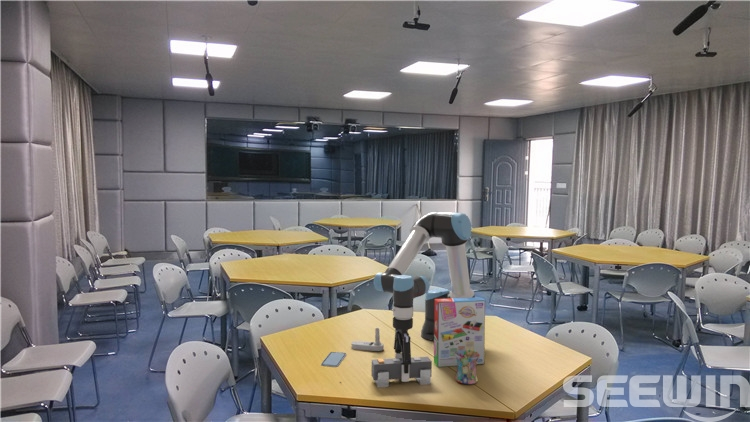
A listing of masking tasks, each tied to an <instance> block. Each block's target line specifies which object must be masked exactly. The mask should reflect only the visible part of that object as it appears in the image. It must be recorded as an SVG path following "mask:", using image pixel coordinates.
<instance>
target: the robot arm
mask: <svg viewBox="0 0 750 422" xmlns="http://www.w3.org/2000/svg"><path fill="white" fill-rule="evenodd" d="M472 230H473V228H472V222H471V219H470V217H469V216H468V215H467V214H466V213H462V212H461V213H460V212H455V211H454V212H451V211H450V212H448V211H447V212H444V211H443V212H442V211H431V212H429V213H426V214H424V215H423V216H421V217H420V218H418V219H417V220H416V221H415V222H414V223H413V224H412V226H411V228H410V229H409V235H408V236H407V238H406V240H405V241H404V242H403V244H402V246H401V247H400V249H399V250H398V251H397V253H396V254H395V256H394V258H393V259H392V260H391V262H390V264H389V265H388V267H387V268H386V270H385V271H384V272H378V273H376V274H375V275H374V277H373V287H374V289H375V290H376V291H378V292H382V293H391V294H392V296H393V297H392V298H393V300H392V302H393V303H392V308H391V312H392V315H393V316H392V327H393V329H395V331H394V332H395V333H394V343H393V350H394V358H402V361H403V363H401V365H402V379H401V382H405V383H406V382H410V378H409V365H410V364H411V357H412V351H411V349H412V347H411V336H410V333H409V332H408V331H409V330H411V329H412V328H413V326H414V319H413V317H414V299H415V298H418V297H421V296H422V297H423V296H424V295H425V298H424V305H425V306H424V322H423V325H422V328H421V331H420V337H422V338H423V339H425V340H428V341H433V342H434V318H435V299H447V298H476V297H477V296H475V295H476V294H475V291H474V290H473V289H472V288H471V284H470V283H471V282H470V275H469V268H468V267H469V266H468V258H467V252H466V251H467V250H466V244H467V243H468V241H469V239H470V238H471V236H472ZM431 238H438V239H441V244H442V246H444V247H445V251H446V255H447V256H446V257H447V264H448V272H449V278H450V286H451V291H450V289H447V288H435V289H430V282H429V279H427V277H425V276H423V275H420V276H419V275H416V276H412V275H409V274H408V275H407V274H406V273H407V271H408V270H409V268H410V267H411V265H412V263H413V262H414V260H415V259H416V257H417V256H418V254H419V252H420V251H421V250H422V248H423V246H424V244H426V243H428V242H429V241H430V239H431Z"/></svg>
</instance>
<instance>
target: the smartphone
mask: <svg viewBox="0 0 750 422" xmlns="http://www.w3.org/2000/svg"><path fill="white" fill-rule="evenodd" d="M346 356H347V353H346V352H339V351H330V352H329V353H328V355H327V356H326V357H325V358H324V360H322V362H321V363H320V366H322V367H332V368H337V367H339V366H340V364H342V362H343V360H344V359H345V358H346Z"/></svg>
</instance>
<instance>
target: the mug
mask: <svg viewBox="0 0 750 422" xmlns="http://www.w3.org/2000/svg"><path fill="white" fill-rule="evenodd" d="M455 356H456V359H457V364H458V366H457V372H456V374H455V377H454V379H455V381H457V382H458V383H460V384H463V385H474V384H476V383H477V382H478V381H479V378H478V377H477V365H478V364H477V360H478V358H479V356H480V355H479V353H477V352H475V351H472V350H458V351H456V352H455Z"/></svg>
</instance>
